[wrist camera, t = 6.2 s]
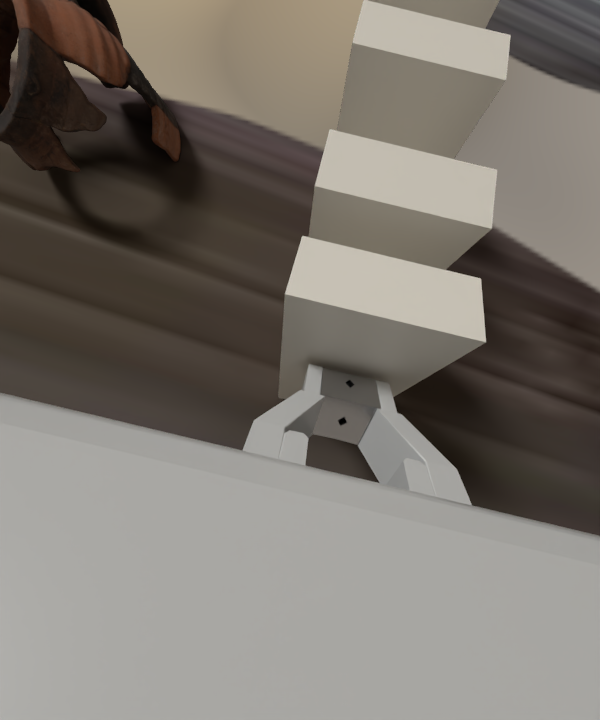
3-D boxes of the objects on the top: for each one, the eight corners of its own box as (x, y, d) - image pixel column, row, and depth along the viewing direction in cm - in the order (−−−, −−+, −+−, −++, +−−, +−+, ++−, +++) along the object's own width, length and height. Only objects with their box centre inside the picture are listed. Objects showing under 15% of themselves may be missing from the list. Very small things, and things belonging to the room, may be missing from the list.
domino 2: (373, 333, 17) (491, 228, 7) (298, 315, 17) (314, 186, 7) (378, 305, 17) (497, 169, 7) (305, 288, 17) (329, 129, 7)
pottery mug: (194, 201, 19) (46, 110, 11) (113, 228, 23) (-38, 175, 15) (182, 20, 18) (14, -210, 10) (100, 81, 22) (-67, -55, 14)
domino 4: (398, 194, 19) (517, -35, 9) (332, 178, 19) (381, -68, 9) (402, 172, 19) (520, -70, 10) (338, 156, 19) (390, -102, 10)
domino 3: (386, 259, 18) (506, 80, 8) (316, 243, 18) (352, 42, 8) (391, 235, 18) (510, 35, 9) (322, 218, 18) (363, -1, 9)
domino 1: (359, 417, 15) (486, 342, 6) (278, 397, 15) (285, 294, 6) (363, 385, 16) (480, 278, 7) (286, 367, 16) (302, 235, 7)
